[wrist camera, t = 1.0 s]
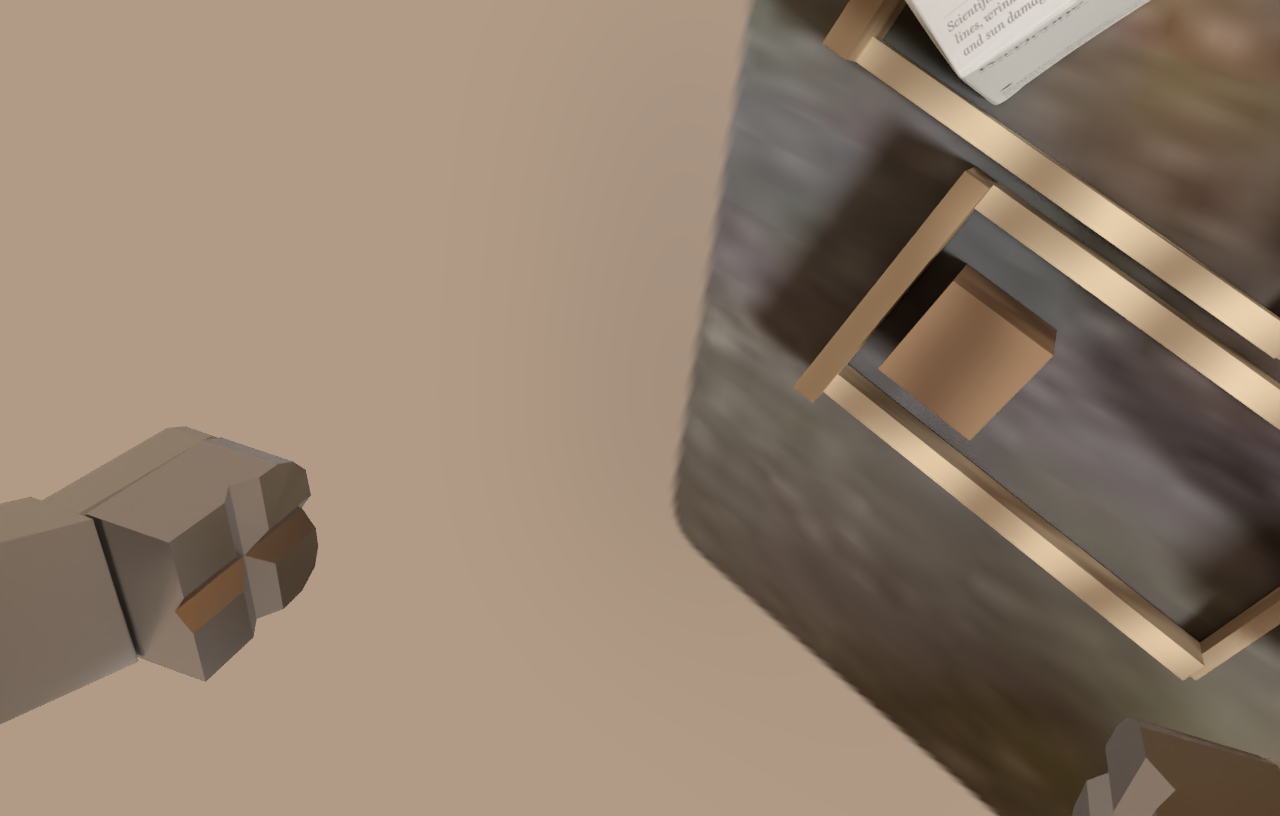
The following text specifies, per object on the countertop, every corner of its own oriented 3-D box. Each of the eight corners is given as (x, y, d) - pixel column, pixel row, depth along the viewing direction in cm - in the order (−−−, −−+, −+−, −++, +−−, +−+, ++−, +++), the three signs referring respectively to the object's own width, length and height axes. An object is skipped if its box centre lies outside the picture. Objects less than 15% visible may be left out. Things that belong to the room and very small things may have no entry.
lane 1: (1719, 169, 28) (1858, 180, 23) (1378, 427, 34) (1429, 481, 29) (1036, -241, 33) (1026, -307, 28) (845, 49, 39) (808, 39, 34)
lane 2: (1544, 572, 33) (1627, 655, 28) (1275, 734, 39) (1303, 825, 34) (975, 166, 38) (958, 173, 33) (815, 366, 44) (779, 398, 39)
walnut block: (1056, 329, 39) (1053, 355, 34) (981, 407, 41) (969, 440, 37) (967, 263, 40) (953, 280, 35) (898, 343, 42) (878, 368, 38)
